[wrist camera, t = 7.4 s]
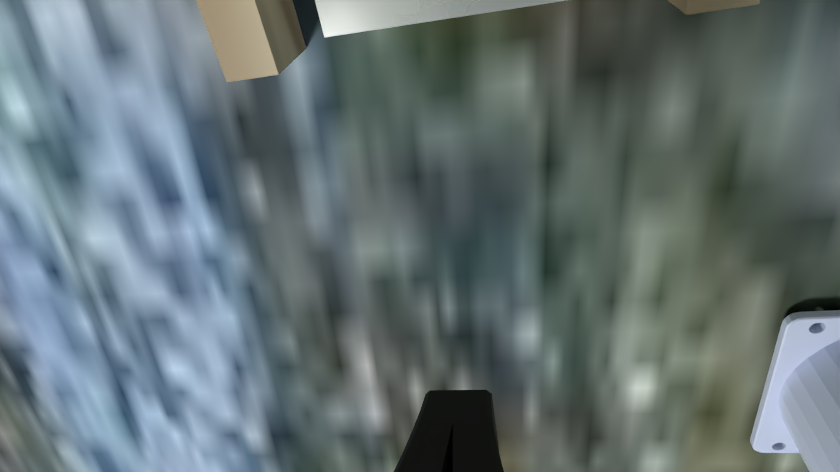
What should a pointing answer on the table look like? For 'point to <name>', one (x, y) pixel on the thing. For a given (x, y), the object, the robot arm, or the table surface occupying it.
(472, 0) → the aluminium block
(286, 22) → the can bracket
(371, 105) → the table surface
